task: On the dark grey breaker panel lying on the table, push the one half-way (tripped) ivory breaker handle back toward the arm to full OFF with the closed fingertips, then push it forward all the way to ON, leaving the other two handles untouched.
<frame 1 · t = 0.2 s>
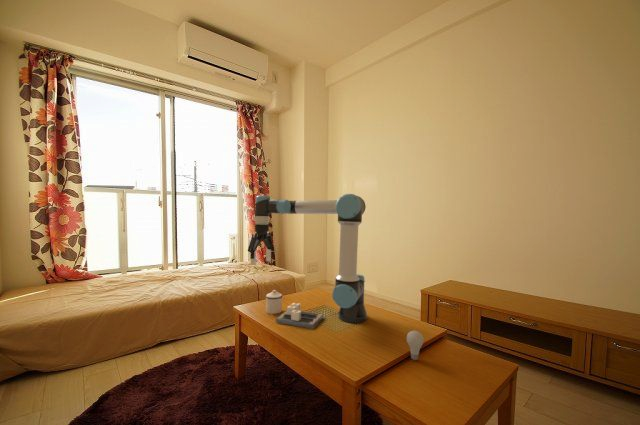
hand: (261, 262, 152), 27 cm above the table, fingers open, 13 cm apart
teacup with lid: (272, 311, 155), on the table
breaker b: (291, 310, 144), point 4 cm above the table, slide at 5.0 cm
breaker a: (295, 307, 149), point 4 cm above the table, slide at 5.0 cm
breaker c: (296, 315, 138), point 4 cm above the table, slide at 0.0 cm
lightbulb: (414, 360, 106), on the table
panel: (300, 320, 143), on the table
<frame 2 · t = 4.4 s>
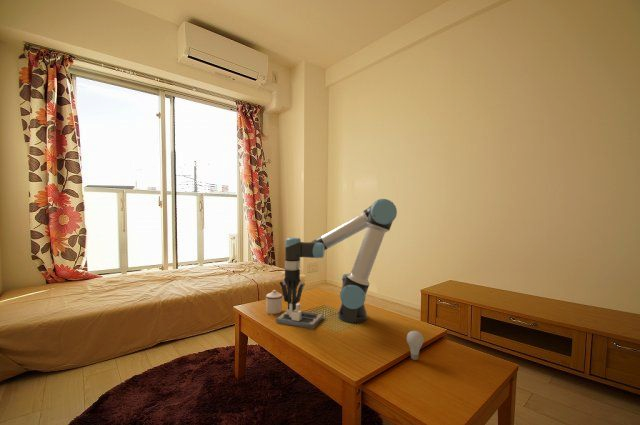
hand: (291, 316, 139), 4 cm above the table, fingers closed
breaker c: (296, 315, 138), point 4 cm above the table, slide at -0.2 cm, touching gripper
everything else where it was.
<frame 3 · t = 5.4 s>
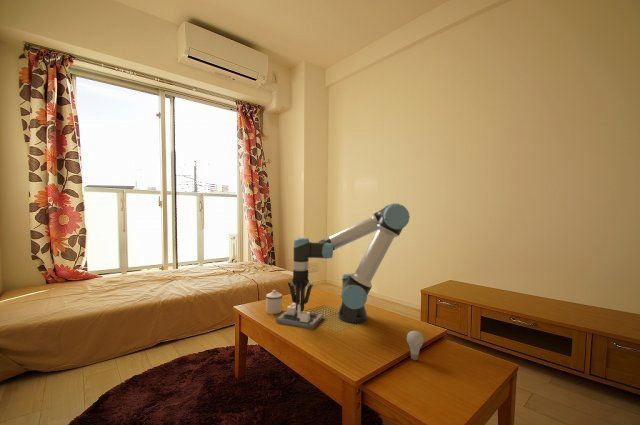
hand: (299, 317, 137), 4 cm above the table, fingers closed
breaker c: (304, 316, 136), point 4 cm above the table, slide at -4.7 cm, touching gripper
everything else where it was.
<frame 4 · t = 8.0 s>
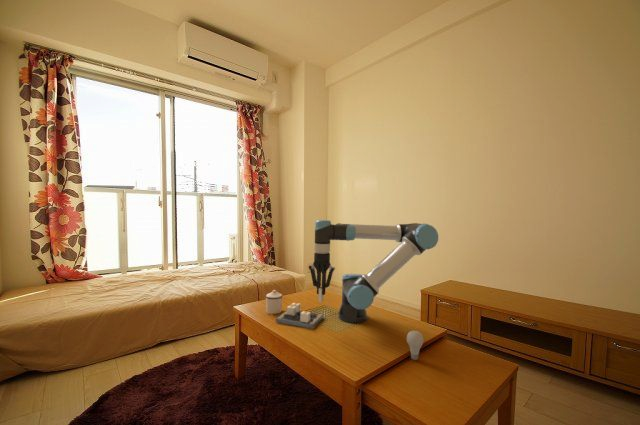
hand: (320, 301, 133), 13 cm above the table, fingers closed
breaker c: (305, 316, 136), point 4 cm above the table, slide at -4.9 cm
everything else where it was.
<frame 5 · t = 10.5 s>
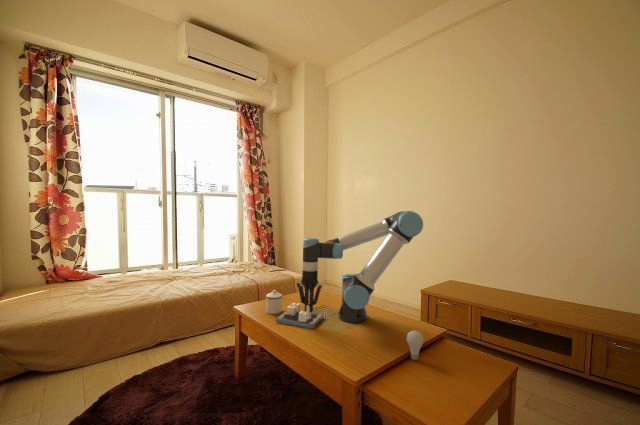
hand: (308, 318, 135), 4 cm above the table, fingers closed
breaker c: (303, 316, 136), point 4 cm above the table, slide at -3.9 cm, touching gripper
everything else where it was.
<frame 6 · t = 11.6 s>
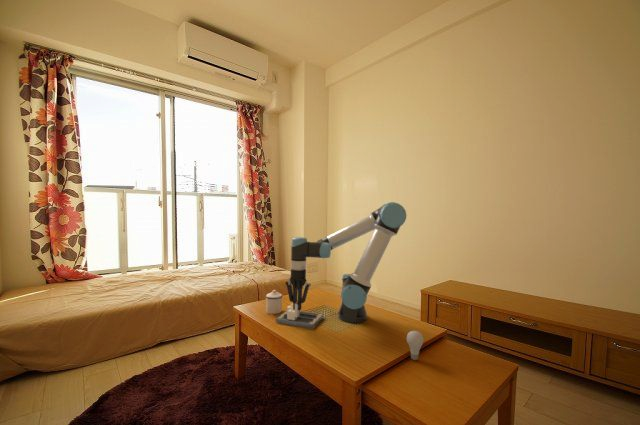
hand: (296, 316, 138), 4 cm above the table, fingers closed
breaker c: (292, 314, 139), point 4 cm above the table, slide at 2.3 cm, touching gripper
everything else where it was.
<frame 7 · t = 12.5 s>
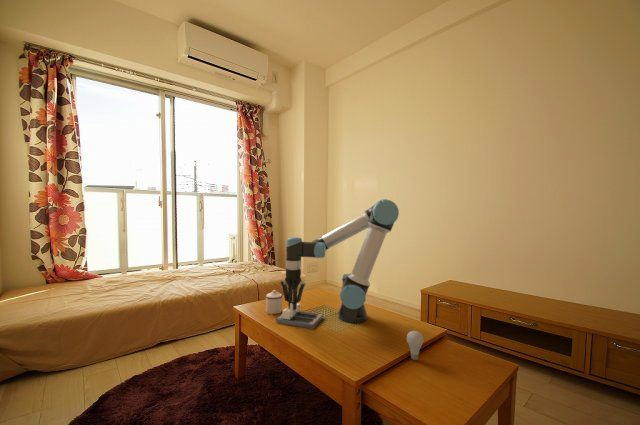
hand: (292, 315, 139), 4 cm above the table, fingers closed
breaker c: (287, 313, 139), point 4 cm above the table, slide at 4.9 cm, touching gripper
everything else where it was.
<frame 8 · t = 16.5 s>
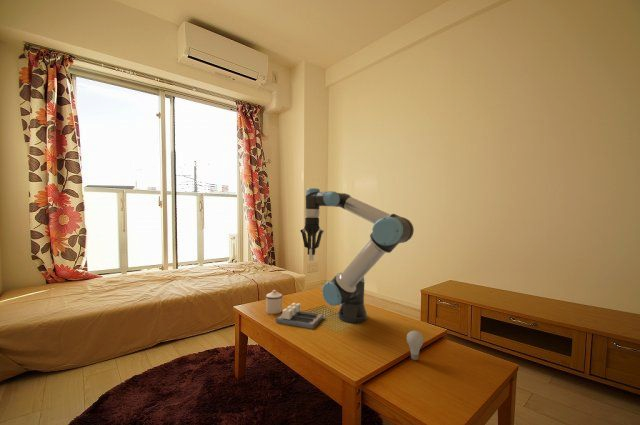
hand: (311, 260, 150), 29 cm above the table, fingers closed
breaker c: (287, 313, 140), point 4 cm above the table, slide at 4.9 cm
everything else where it was.
at the end: breaker c slide at 4.9 cm; breaker a slide at 5.0 cm; breaker b slide at 5.0 cm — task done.
